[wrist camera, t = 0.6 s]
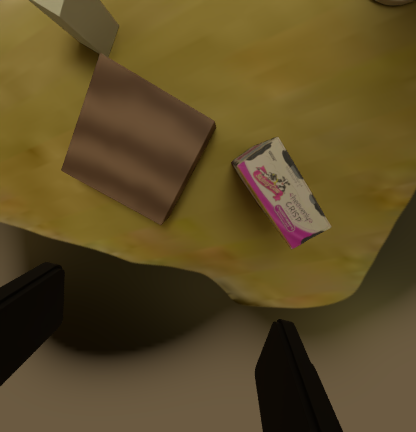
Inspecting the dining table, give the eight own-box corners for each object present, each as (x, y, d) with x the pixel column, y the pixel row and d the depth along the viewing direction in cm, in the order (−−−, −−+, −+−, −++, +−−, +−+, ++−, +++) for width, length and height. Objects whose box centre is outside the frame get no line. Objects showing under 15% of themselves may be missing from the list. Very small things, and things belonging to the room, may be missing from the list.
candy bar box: (229, 162, 36) (233, 164, 20) (253, 145, 35) (278, 132, 19) (263, 213, 38) (291, 252, 22) (287, 198, 36) (335, 227, 21)
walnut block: (121, 71, 33) (100, 52, 28) (216, 127, 35) (214, 121, 29) (85, 169, 38) (61, 170, 32) (170, 215, 39) (160, 225, 34)
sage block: (89, 7, 31) (30, -61, 22) (119, 25, 31) (73, -35, 22) (79, 42, 32) (18, -9, 23) (107, 58, 33) (59, 16, 23)
